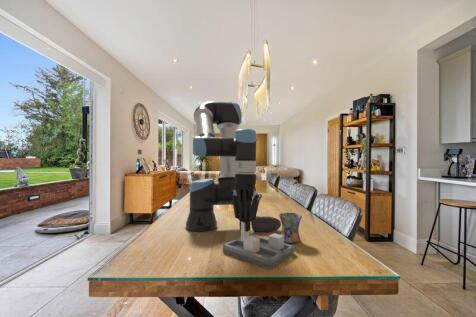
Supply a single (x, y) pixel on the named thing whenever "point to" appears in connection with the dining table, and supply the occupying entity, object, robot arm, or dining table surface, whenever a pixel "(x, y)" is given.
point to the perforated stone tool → (265, 224)
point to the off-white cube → (251, 244)
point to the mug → (290, 227)
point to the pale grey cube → (276, 241)
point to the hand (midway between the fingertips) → (244, 239)
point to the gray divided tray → (259, 252)
